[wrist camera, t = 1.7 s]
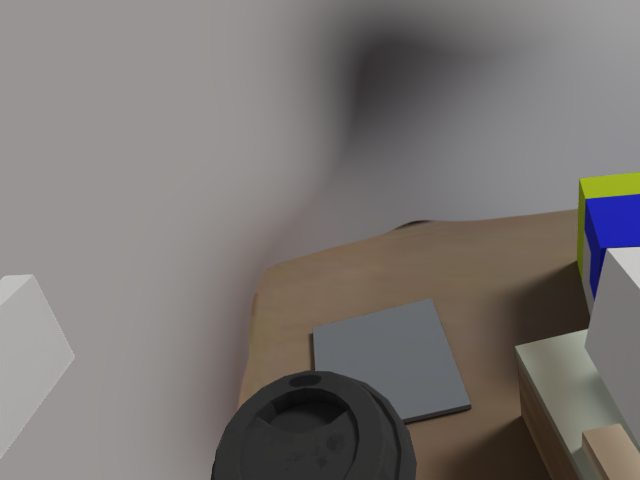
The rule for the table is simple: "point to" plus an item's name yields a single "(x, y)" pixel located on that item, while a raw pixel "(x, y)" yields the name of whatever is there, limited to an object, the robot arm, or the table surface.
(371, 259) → the table surface
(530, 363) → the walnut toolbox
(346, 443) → the coffee cup
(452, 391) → the slate mat
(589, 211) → the puzzle toy
